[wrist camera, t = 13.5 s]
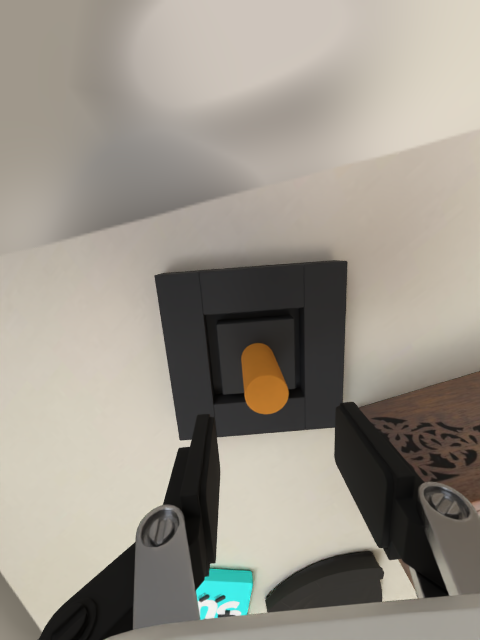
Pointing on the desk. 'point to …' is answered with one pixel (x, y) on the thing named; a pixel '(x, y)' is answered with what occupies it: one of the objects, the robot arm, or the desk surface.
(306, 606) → the curved wedge
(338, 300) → the base pad
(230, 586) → the handheld game console
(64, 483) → the desk surface
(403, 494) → the robot arm
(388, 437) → the tissue box cover
